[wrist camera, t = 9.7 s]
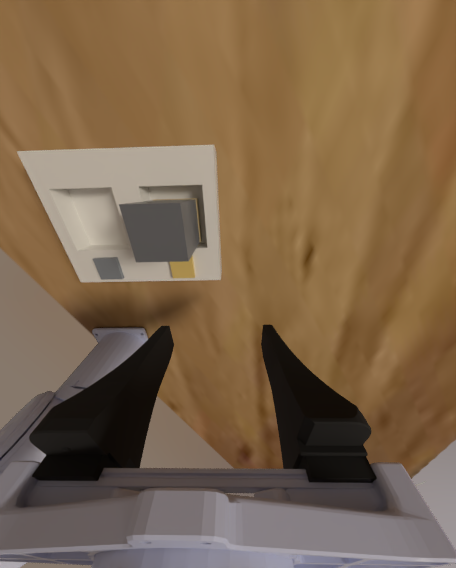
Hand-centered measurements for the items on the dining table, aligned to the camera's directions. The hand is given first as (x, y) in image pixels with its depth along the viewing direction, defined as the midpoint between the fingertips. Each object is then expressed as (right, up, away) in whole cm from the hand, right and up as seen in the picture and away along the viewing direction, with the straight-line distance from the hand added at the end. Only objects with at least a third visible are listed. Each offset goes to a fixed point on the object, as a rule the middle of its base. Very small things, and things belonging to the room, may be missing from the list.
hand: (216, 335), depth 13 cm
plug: (-4, +11, +5) cm, 12 cm away
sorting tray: (-8, +11, +5) cm, 15 cm away
